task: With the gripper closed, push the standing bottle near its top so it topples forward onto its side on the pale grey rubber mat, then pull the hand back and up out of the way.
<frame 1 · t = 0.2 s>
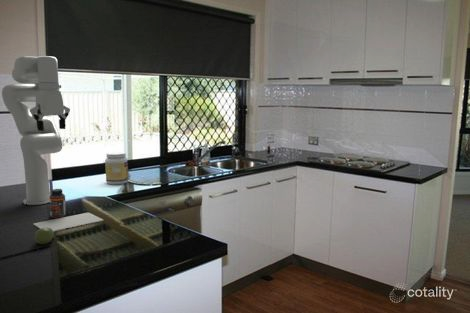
hand: (51, 129, 170), 35 cm above the table, tool pointing down, fingers open, 9 cm apart
supplement tub: (117, 182, 235), on the table
supplement bottle: (58, 217, 170), on the table
pear: (45, 241, 142), on the table
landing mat: (69, 222, 162), on the table
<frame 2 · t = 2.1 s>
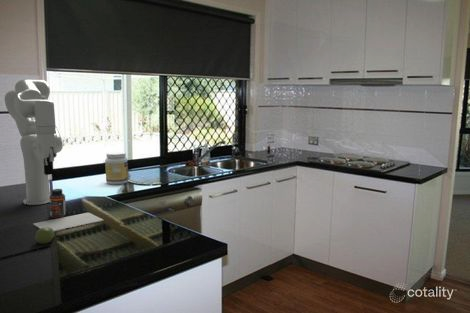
hand: (49, 174, 173), 17 cm above the table, tool pointing down, fingers closed
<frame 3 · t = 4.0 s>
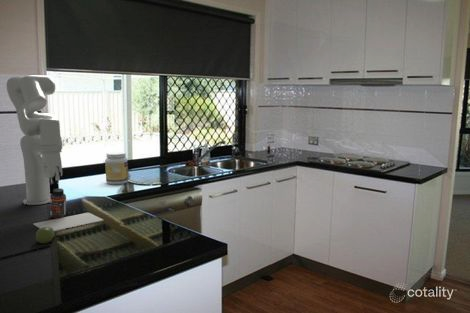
hand: (54, 193, 170), 9 cm above the table, tool pointing down, fingers closed
supplement bottle: (58, 216, 170), on the table, touching gripper
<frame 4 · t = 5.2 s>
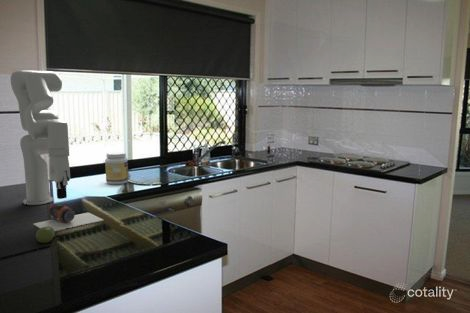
hand: (61, 198, 165), 9 cm above the table, tool pointing down, fingers closed
supplement bottle: (55, 210, 166), point 3 cm above the table, touching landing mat
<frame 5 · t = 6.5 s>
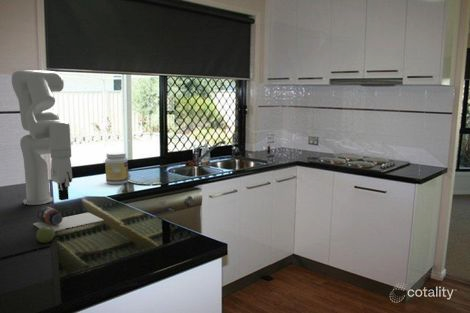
hand: (63, 199, 164), 9 cm above the table, tool pointing down, fingers closed
supplement bottle: (44, 213, 163), point 3 cm above the table, touching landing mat
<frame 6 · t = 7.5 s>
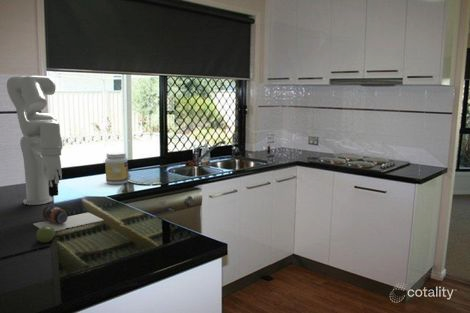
hand: (53, 195, 172), 8 cm above the table, tool pointing down, fingers closed
supplement bottle: (49, 212, 164), point 3 cm above the table, touching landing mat
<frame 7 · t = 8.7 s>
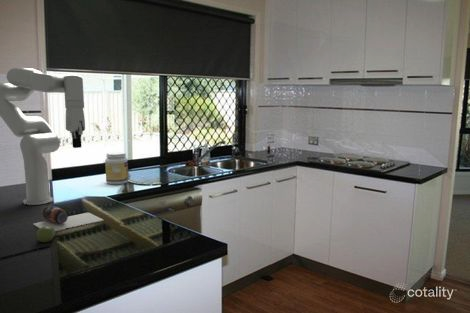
hand: (77, 147, 178), 27 cm above the table, tool pointing down, fingers closed
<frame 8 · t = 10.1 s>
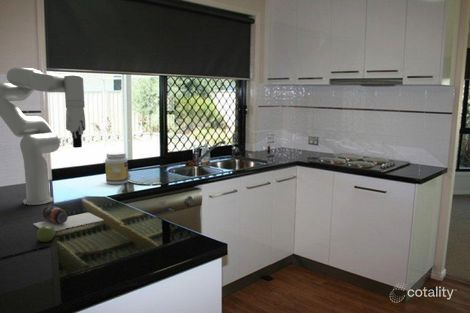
hand: (77, 147, 178), 27 cm above the table, tool pointing down, fingers closed
at the end: supplement bottle tilted 91°; supplement bottle touching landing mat; supplement bottle inside the target area (6.4 cm from its centre), point 3.4 cm above the table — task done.
